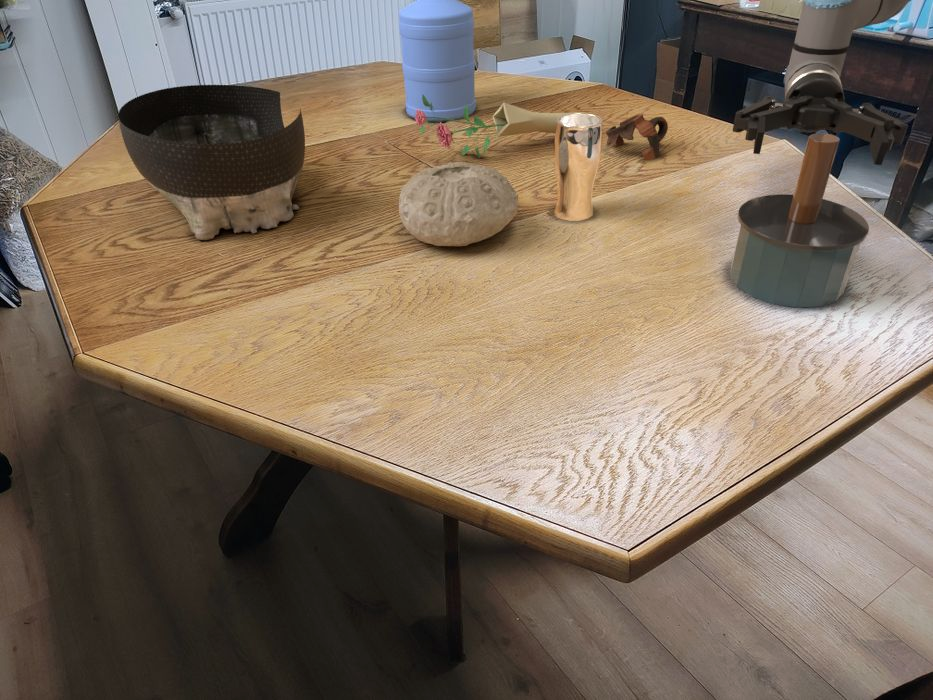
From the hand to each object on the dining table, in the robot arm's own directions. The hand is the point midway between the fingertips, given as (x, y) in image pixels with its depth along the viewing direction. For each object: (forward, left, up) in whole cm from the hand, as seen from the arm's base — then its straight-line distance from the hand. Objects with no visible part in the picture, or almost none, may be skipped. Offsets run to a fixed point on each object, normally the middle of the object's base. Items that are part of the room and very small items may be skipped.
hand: (818, 148), depth 83 cm
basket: (+88, +3, -17) cm, 90 cm away
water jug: (+72, -52, -17) cm, 90 cm away
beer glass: (+31, -8, -17) cm, 36 cm away
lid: (0, +4, -8) cm, 9 cm away
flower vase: (+50, -32, -17) cm, 62 cm away
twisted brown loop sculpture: (+26, -38, -17) cm, 49 cm away
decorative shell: (+46, +3, -17) cm, 49 cm away
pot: (0, +4, -16) cm, 17 cm away
